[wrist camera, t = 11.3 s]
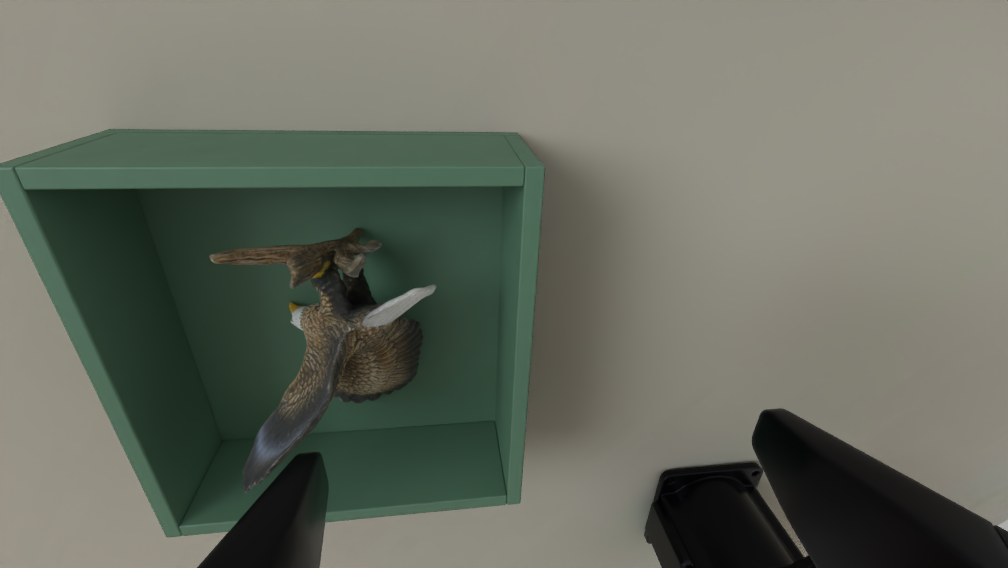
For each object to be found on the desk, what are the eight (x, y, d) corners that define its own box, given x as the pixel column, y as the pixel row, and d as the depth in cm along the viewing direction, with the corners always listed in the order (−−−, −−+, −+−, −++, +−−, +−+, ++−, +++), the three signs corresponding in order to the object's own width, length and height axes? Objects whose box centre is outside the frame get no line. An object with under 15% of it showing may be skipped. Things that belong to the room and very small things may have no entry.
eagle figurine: (182, 226, 16) (211, 448, 19) (237, 279, 11) (266, 571, 14) (384, 215, 21) (384, 392, 24) (484, 248, 16) (471, 468, 19)
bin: (517, 132, 18) (545, 166, 14) (504, 419, 25) (520, 504, 21) (108, 128, 16) (-15, 167, 12) (216, 440, 23) (165, 538, 19)
